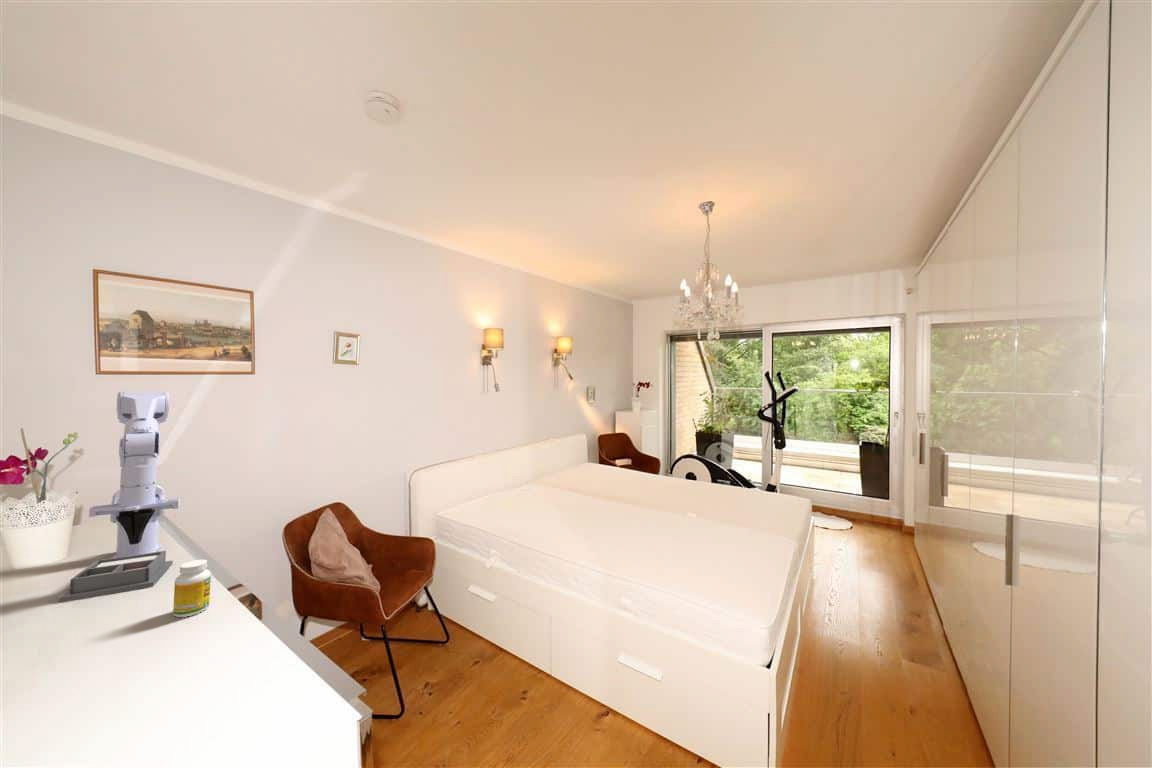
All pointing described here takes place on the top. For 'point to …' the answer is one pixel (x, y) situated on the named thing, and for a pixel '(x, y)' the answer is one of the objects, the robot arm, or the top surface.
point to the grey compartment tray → (117, 576)
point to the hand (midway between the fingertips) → (135, 542)
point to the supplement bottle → (192, 589)
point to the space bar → (127, 561)
